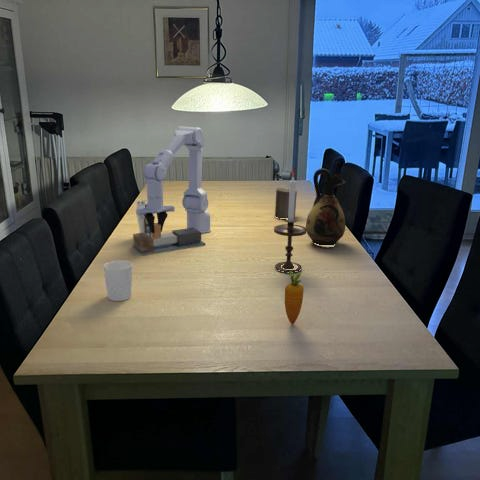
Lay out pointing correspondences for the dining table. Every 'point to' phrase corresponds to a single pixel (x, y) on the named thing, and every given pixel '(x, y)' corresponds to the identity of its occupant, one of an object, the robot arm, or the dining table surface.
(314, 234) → the ceramic jug
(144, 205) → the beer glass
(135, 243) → the socket block
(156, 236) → the grey slider with handle
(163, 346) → the dining table surface
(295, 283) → the carrot
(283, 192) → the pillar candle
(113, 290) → the white cup
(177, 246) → the outer sleeve
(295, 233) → the candlestick
